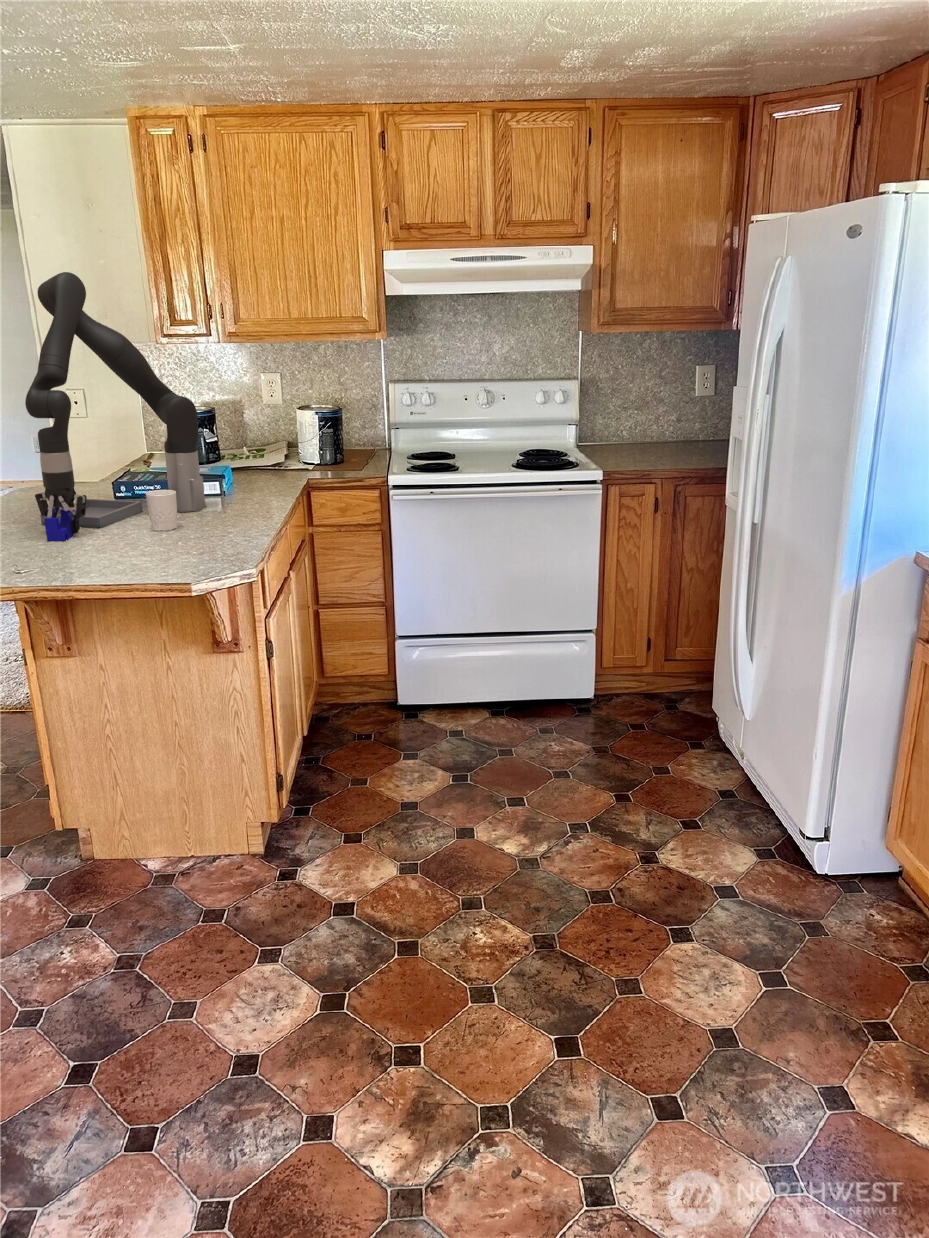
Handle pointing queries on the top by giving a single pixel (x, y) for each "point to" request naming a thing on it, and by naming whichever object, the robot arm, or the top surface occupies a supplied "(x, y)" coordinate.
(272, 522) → the top surface
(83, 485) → the top surface
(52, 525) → the blue curved block
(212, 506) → the top surface
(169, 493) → the white cup
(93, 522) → the tray
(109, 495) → the top surface
